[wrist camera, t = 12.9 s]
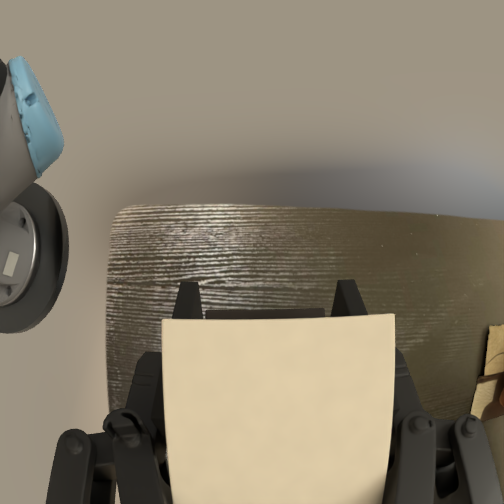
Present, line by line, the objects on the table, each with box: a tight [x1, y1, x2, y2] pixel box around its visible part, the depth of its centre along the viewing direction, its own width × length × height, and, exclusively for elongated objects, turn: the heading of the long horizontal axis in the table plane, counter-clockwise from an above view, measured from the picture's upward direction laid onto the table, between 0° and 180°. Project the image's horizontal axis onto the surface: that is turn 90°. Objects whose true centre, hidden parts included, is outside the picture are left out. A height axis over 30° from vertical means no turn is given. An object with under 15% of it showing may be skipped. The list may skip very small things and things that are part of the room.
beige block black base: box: [162, 308, 395, 504], centre depth 12 cm, size 11×6×10 cm, turn 1°
